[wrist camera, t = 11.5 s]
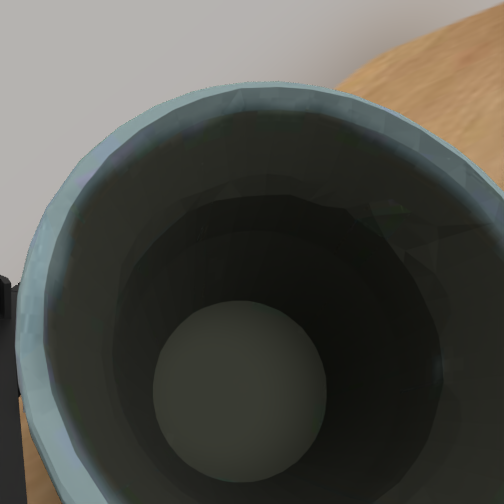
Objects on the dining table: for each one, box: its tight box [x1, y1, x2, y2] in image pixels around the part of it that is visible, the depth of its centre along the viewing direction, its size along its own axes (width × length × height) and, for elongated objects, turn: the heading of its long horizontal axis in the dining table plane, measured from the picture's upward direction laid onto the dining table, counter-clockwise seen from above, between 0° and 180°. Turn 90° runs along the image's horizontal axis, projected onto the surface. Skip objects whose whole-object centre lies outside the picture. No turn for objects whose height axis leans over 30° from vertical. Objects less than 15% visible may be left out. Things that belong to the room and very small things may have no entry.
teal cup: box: [15, 81, 504, 504], centre depth 12 cm, size 10×10×12 cm
